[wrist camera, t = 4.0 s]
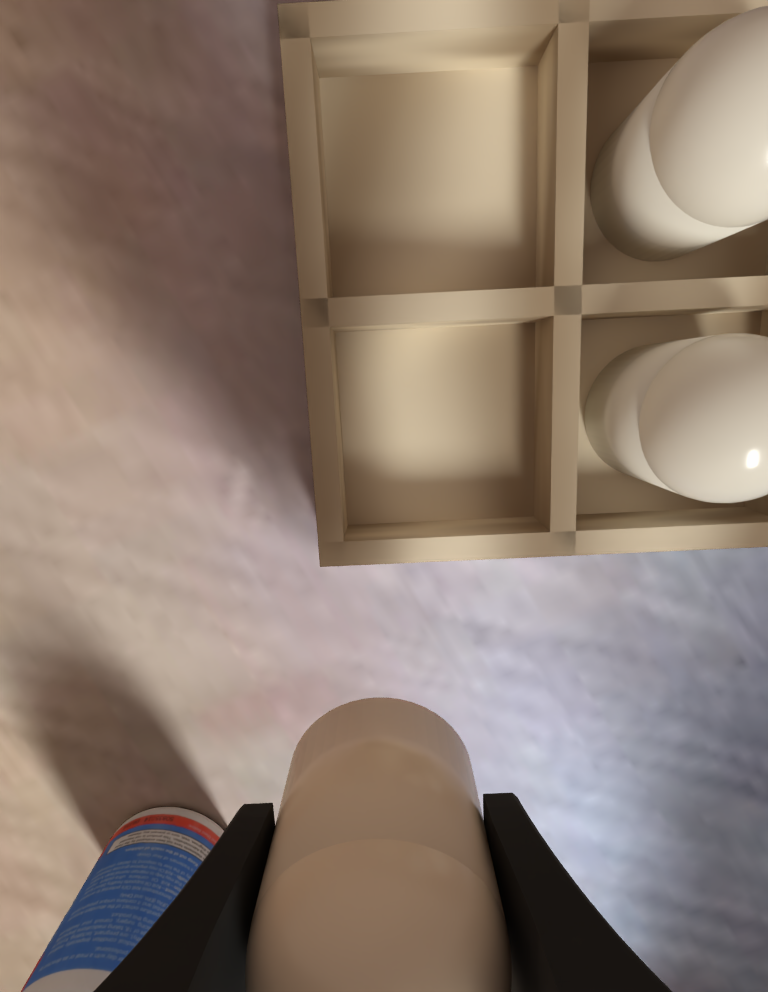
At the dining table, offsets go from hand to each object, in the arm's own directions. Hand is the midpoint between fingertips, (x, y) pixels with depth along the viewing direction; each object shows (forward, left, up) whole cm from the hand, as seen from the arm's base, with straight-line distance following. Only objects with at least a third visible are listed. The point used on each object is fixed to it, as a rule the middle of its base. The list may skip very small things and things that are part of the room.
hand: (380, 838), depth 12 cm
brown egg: (0, 0, -2) cm, 2 cm away
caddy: (-6, -11, -9) cm, 16 cm away
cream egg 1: (-9, -15, -9) cm, 20 cm away
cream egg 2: (-9, -8, -9) cm, 15 cm away
